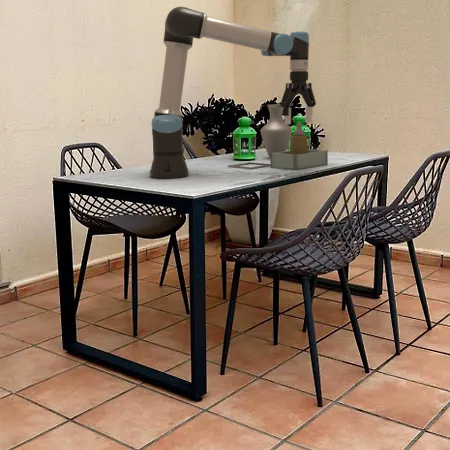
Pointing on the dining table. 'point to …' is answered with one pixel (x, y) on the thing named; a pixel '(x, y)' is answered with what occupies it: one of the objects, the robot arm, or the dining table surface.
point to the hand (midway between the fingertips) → (298, 123)
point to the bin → (299, 159)
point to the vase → (276, 131)
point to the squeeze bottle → (299, 141)
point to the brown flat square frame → (249, 167)
